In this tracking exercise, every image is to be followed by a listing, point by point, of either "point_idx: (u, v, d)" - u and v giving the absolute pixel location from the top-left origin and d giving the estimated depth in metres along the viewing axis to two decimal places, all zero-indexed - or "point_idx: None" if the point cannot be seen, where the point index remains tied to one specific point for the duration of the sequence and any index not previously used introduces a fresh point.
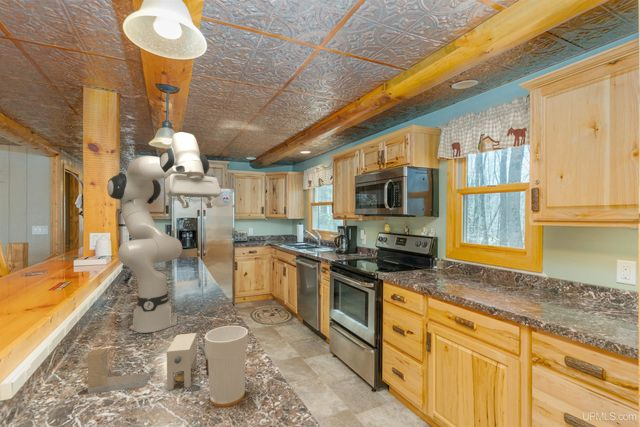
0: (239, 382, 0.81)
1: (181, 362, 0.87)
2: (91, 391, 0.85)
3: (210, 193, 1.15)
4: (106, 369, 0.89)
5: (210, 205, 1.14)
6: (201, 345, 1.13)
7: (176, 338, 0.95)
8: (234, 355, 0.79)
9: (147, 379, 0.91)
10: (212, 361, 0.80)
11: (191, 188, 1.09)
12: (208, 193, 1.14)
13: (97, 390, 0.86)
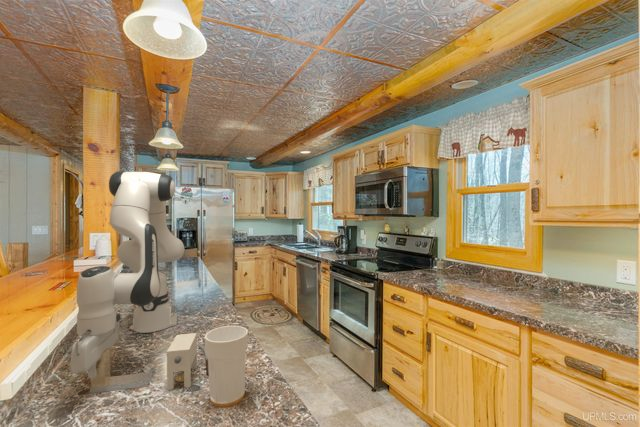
0: (239, 382, 0.81)
1: (181, 362, 0.87)
2: (94, 390, 0.85)
3: None
4: (108, 368, 0.89)
5: None
6: (201, 345, 1.13)
7: (176, 338, 0.95)
8: (234, 355, 0.79)
9: (150, 378, 0.91)
10: (212, 361, 0.80)
11: None
12: None
13: (100, 389, 0.86)
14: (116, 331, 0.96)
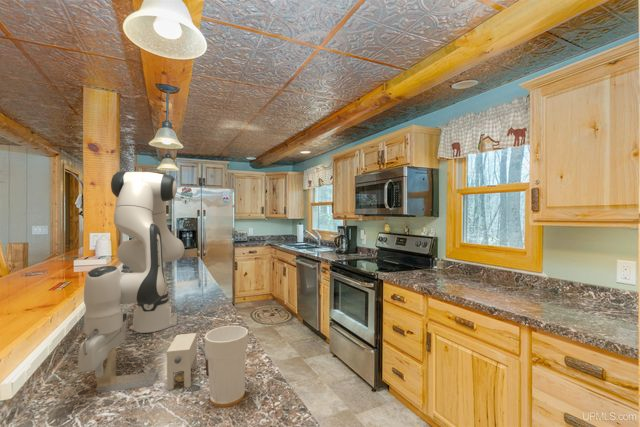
0: (239, 382, 0.81)
1: (181, 362, 0.87)
2: (100, 390, 0.86)
3: None
4: (114, 368, 0.90)
5: None
6: (201, 345, 1.13)
7: (176, 338, 0.95)
8: (234, 355, 0.79)
9: (155, 378, 0.91)
10: (212, 361, 0.80)
11: None
12: None
13: (106, 389, 0.86)
14: (122, 330, 0.96)
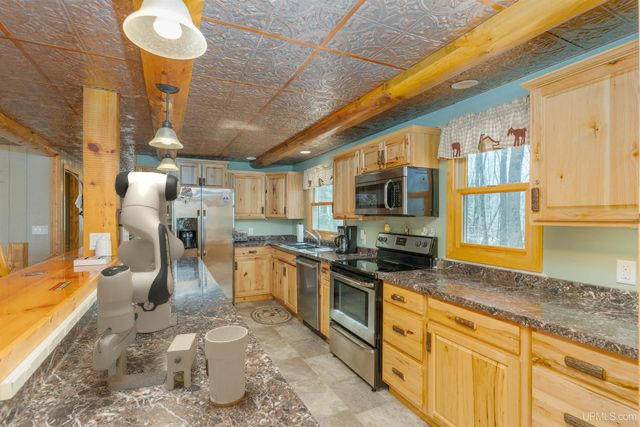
0: (239, 382, 0.81)
1: (181, 362, 0.87)
2: (111, 388, 0.86)
3: None
4: (125, 367, 0.90)
5: None
6: (201, 345, 1.13)
7: (176, 338, 0.95)
8: (234, 355, 0.79)
9: (166, 376, 0.92)
10: (212, 361, 0.80)
11: None
12: None
13: (117, 387, 0.87)
14: (133, 329, 0.97)
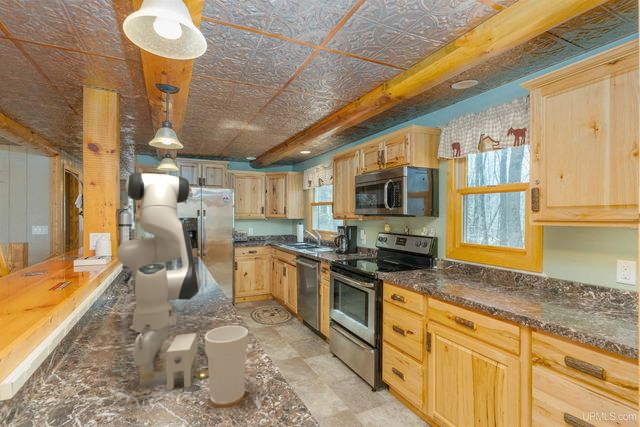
0: (239, 382, 0.81)
1: (181, 362, 0.87)
2: (143, 385, 0.88)
3: None
4: (155, 363, 0.92)
5: None
6: (201, 346, 1.13)
7: (176, 338, 0.95)
8: (234, 355, 0.79)
9: (194, 373, 0.93)
10: (212, 361, 0.80)
11: None
12: None
13: (149, 384, 0.88)
14: (166, 326, 0.99)
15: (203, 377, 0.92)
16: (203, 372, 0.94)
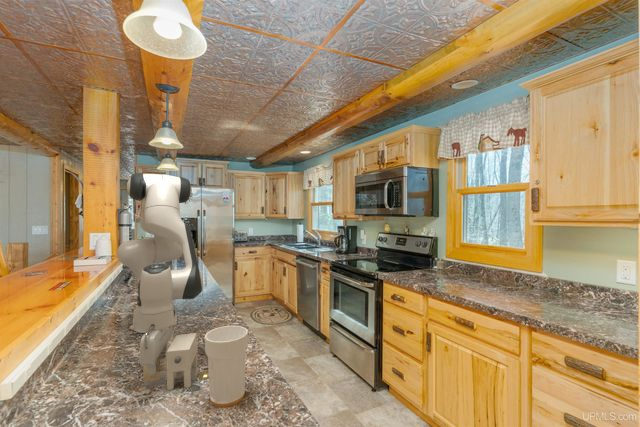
0: (239, 382, 0.81)
1: (181, 362, 0.87)
2: (146, 384, 0.88)
3: None
4: (158, 363, 0.92)
5: None
6: (201, 346, 1.13)
7: (176, 338, 0.95)
8: (234, 355, 0.79)
9: (198, 373, 0.94)
10: (212, 361, 0.80)
11: None
12: None
13: (152, 384, 0.89)
14: (170, 326, 0.99)
15: (206, 378, 0.92)
16: (206, 373, 0.94)
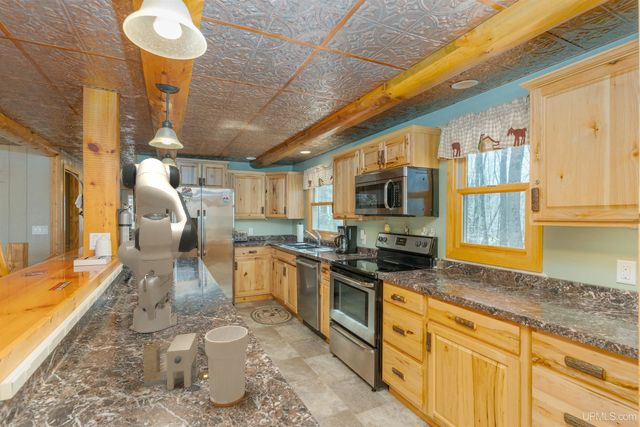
0: (239, 382, 0.81)
1: (181, 362, 0.87)
2: (147, 385, 0.88)
3: None
4: (159, 363, 0.92)
5: None
6: (201, 346, 1.13)
7: (176, 338, 0.95)
8: (234, 355, 0.79)
9: (198, 373, 0.94)
10: (212, 361, 0.80)
11: None
12: None
13: (152, 384, 0.89)
14: (170, 278, 0.99)
15: (207, 378, 0.92)
16: (206, 373, 0.94)
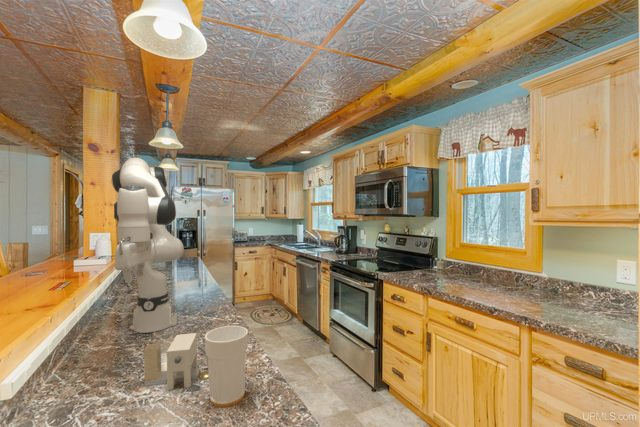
0: (239, 382, 0.81)
1: (181, 362, 0.87)
2: (148, 384, 0.88)
3: None
4: (160, 363, 0.92)
5: None
6: (201, 346, 1.13)
7: (176, 338, 0.95)
8: (234, 355, 0.79)
9: (199, 373, 0.94)
10: (212, 361, 0.80)
11: None
12: None
13: (153, 383, 0.89)
14: (148, 249, 1.06)
15: (207, 378, 0.92)
16: (207, 373, 0.94)
